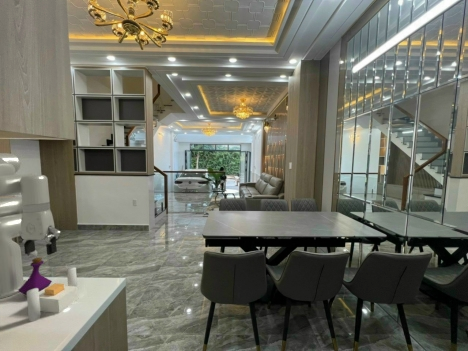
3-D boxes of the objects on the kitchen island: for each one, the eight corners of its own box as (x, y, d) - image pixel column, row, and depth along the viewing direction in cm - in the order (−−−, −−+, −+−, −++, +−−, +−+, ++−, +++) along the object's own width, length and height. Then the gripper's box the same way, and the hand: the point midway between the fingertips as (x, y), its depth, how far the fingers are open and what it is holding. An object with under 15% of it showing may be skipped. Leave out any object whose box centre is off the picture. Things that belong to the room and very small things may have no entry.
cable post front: (26, 321, 74) (24, 293, 74) (35, 314, 77) (33, 287, 77) (34, 322, 74) (31, 293, 73) (43, 315, 77) (40, 288, 76)
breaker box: (31, 309, 80) (30, 296, 80) (52, 296, 88) (51, 284, 88) (59, 312, 78) (58, 299, 78) (78, 298, 86) (77, 286, 86)
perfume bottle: (52, 288, 94) (49, 247, 92) (35, 299, 86) (31, 255, 85) (37, 287, 94) (33, 247, 93) (18, 298, 87) (14, 254, 86)
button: (45, 299, 81) (44, 289, 81) (55, 293, 85) (54, 283, 85) (54, 300, 81) (53, 290, 80) (64, 293, 85) (63, 283, 84)
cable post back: (66, 294, 89) (64, 270, 89) (73, 290, 92) (71, 267, 91) (73, 294, 89) (71, 271, 88) (79, 290, 92) (77, 267, 91)
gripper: (5, 210, 79) (10, 256, 80) (46, 210, 76) (50, 258, 77) (28, 206, 86) (32, 248, 87) (66, 206, 84) (69, 249, 85)
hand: (41, 253), depth 82 cm, fingers open, 9 cm apart
